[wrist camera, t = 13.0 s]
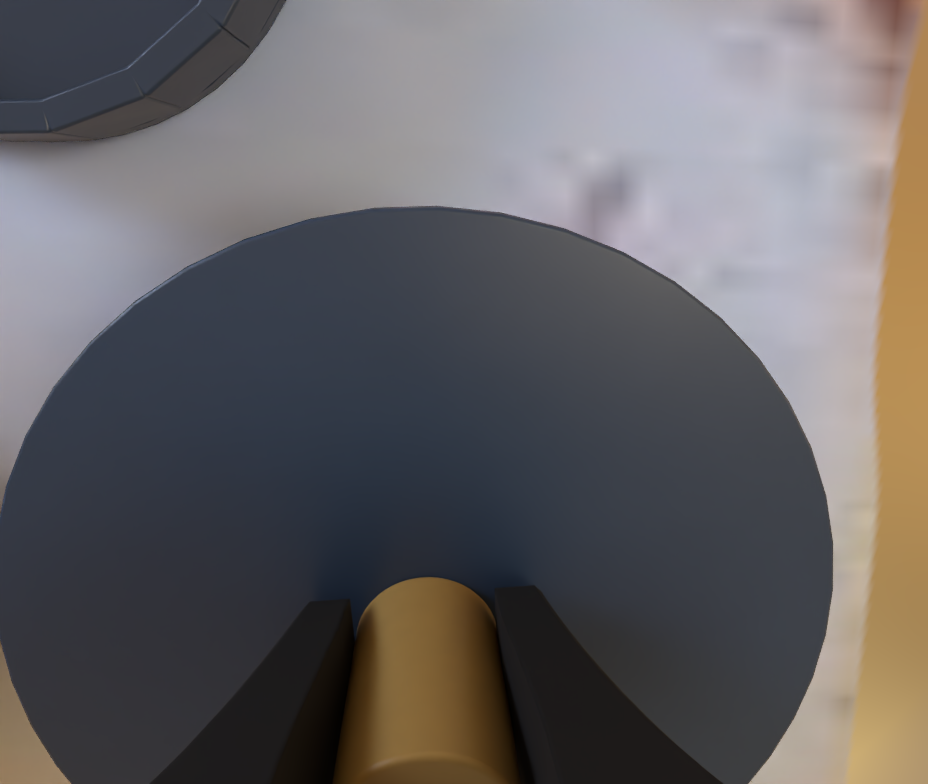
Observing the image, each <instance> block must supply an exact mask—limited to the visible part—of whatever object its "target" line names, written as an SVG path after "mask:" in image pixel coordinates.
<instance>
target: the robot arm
mask: <svg viewBox="0 0 928 784" xmlns="http://www.w3.org/2000/svg"><path fill="white" fill-rule="evenodd" d="M495 612H496V632H497V638H498V645H499V651H500V658H501V664H502V671H503V677H504V682H505V687H506V692H507V697H508V703H509V710H510V716H511V722H512V729H513V735H514V742H515V748H516V755H517V761H518V768H519V774H520V781H521V784H723V783H722V782H721V781H720V780H718V779H717V778H716V777H715V776H713V775H712V774H711V773H710V772H708V771H707V770H706V769H705V768H704V767H702V766H701V765H700V764H699V763H698V762H697V761H695V760H694V759H693V758H692V757H691V756H690V755H688V754H687V753H686V752H685V751H684V750H683V749H681V748H680V747H679V746H678V745H677V744H676V743H675V742H674V741H672V740H671V739H670V738H669V737H668V736H667V735H666V734H665V733H664V732H663V731H662V730H661V729H660V728H658V727H657V726H656V725H655V724H654V723H653V722H652V721H651V720H650V719H649V718H648V717H647V716H646V715H645V714H644V713H643V712H642V711H641V710H640V709H639V708H638V707H637V706H636V705H635V704H634V703H633V702H632V701H631V700H630V699H629V698H628V697H627V696H626V695H625V694H624V693H623V692H622V691H621V689H620V688H619V687H618V686H617V685H616V684H615V683H614V682H613V681H612V680H611V679H610V678H609V677H608V675H607V674H606V673H605V672H604V671H603V670H602V669H601V667H600V666H599V665H598V664H597V663H596V662H595V661H594V659H593V658H592V657H591V656H590V655H589V654H588V653H587V651H586V650H585V649H584V648H583V647H582V645H581V644H580V643H579V642H578V641H577V639H576V638H575V637H574V636H573V634H572V633H571V632H570V630H569V629H568V628H567V627H566V625H565V624H564V623H563V621H562V620H561V619H560V617H559V616H558V615H557V613H556V612H555V611H554V609H553V608H552V606H551V605H550V604H549V602H548V601H547V599H546V598H545V596H544V595H543V593H542V592H541V591H540V590H539V589H538V588H537V587H536V586H535V585H530V586H516V587H503V588H495ZM354 646H355V637H354V629H353V620H352V612H351V603H350V599H338V600H324V601H310V602H309V603H308V604H307V605H306V606H305V607H304V608H303V609H302V611H301V612H300V613H299V614H298V616H297V617H296V618H295V620H294V621H293V622H292V624H291V625H290V626H289V627H288V629H287V630H286V631H285V633H284V634H283V635H282V636H281V638H280V639H279V640H278V642H277V643H276V644H275V645H274V647H273V648H272V649H271V650H270V652H269V653H268V654H267V655H266V657H265V658H264V659H263V660H262V662H261V663H260V664H259V665H258V667H257V668H256V669H255V670H254V671H253V673H252V674H251V675H250V676H249V677H248V678H247V680H246V681H245V682H244V683H243V684H242V686H241V687H240V688H239V689H238V690H237V692H236V693H235V694H234V695H233V696H232V698H231V699H230V700H229V701H228V702H227V703H226V704H225V706H224V707H223V708H222V709H221V710H220V711H219V712H218V713H217V714H216V715H215V716H214V718H213V719H212V720H211V721H210V722H209V723H208V724H207V725H206V726H205V727H204V728H203V729H202V730H201V732H200V733H199V734H198V735H197V736H196V737H195V738H194V739H193V740H192V741H191V742H190V743H189V745H188V746H187V747H186V748H185V749H184V750H183V751H182V752H181V753H180V754H179V755H178V756H177V757H176V758H175V759H174V760H173V761H172V762H171V763H170V764H169V765H168V766H167V767H166V768H165V769H164V770H163V771H162V772H161V773H160V774H159V775H158V776H157V777H156V778H155V779H154V780H153V781H152V782H151V783H149V784H332V782H333V776H334V770H335V763H336V757H337V751H338V745H339V739H340V732H341V726H342V720H343V714H344V708H345V701H346V695H347V689H348V683H349V677H350V671H351V664H352V658H353V652H354Z"/></svg>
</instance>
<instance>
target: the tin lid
mask: <svg viewBox="0 0 928 784" xmlns="http://www.w3.org/2000/svg"><path fill="white" fill-rule="evenodd" d="M530 585H535V586H536V587H537V588H538V589H539V590H540V591H541V592H542V593H543V595H544V596H545V598H546V599H547V601H548V602H549V604H550V605H551V606H552V608H553V609H554V611H555V612H556V613H557V615H558V616H559V617H560V619H561V620H562V621H563V623H564V624H565V625H566V627H567V628H568V629H569V630H570V632H571V633H572V634H573V636H574V637H575V638H576V639H577V641H578V642H579V643H580V644H581V645H582V647H583V648H584V649H585V650H586V651H587V653H588V654H589V655H590V656H591V657H592V658H593V659H594V661H595V662H596V663H597V664H598V665H599V666H600V667H601V669H602V670H603V671H604V672H605V673H606V674H607V675H608V677H609V678H610V679H611V680H612V681H613V682H614V683H615V684H616V685H617V686H618V687H619V688H620V689H621V691H622V692H623V693H624V694H625V695H626V696H627V697H628V698H629V699H630V700H631V701H632V702H633V703H634V704H635V705H636V706H637V707H638V708H639V709H640V710H641V711H642V712H643V713H644V714H645V715H646V716H647V717H648V718H649V719H650V720H651V721H652V722H653V723H654V724H655V725H656V726H657V727H658V728H660V729H661V730H662V731H663V732H664V733H665V734H666V735H667V736H668V737H669V738H670V739H671V740H672V741H674V742H675V743H676V744H677V745H678V746H679V747H680V748H681V749H683V750H684V751H685V752H686V753H687V754H688V755H690V756H691V757H692V758H693V759H694V760H695V761H697V762H698V763H699V764H700V765H701V766H702V767H704V768H705V769H706V770H707V771H708V772H710V773H711V774H712V775H713V776H715V777H716V778H717V779H718V780H720V781H721V782H722V783H723V784H748V783H749V782H750V781H751V780H752V778H753V777H754V776H755V775H756V773H757V772H758V771H759V770H760V769H761V767H762V766H763V765H764V764H765V762H766V761H767V760H768V759H769V757H770V756H771V755H772V753H773V751H774V750H775V748H776V747H777V745H778V743H779V742H780V740H781V739H782V737H783V735H784V734H785V732H786V731H787V729H788V727H789V726H790V724H791V723H792V721H793V719H794V717H795V715H796V713H797V711H798V709H799V706H800V704H801V702H802V700H803V698H804V696H805V693H806V691H807V689H808V687H809V685H810V683H811V680H812V678H813V675H814V672H815V668H816V665H817V662H818V659H819V655H820V652H821V649H822V645H823V642H824V639H825V635H826V630H827V623H828V617H829V610H830V604H831V597H832V591H833V540H832V533H831V526H830V519H829V512H828V505H827V499H826V494H825V491H824V487H823V484H822V481H821V478H820V474H819V471H818V468H817V465H816V461H815V458H814V455H813V451H812V448H811V446H810V444H809V442H808V440H807V438H806V436H805V434H804V431H803V429H802V427H801V425H800V423H799V421H798V419H797V417H796V415H795V413H794V411H793V409H792V407H791V405H790V403H789V401H788V399H787V398H786V397H785V395H784V394H783V392H782V391H781V389H780V388H779V386H778V385H777V384H776V382H775V381H774V379H773V378H772V376H771V375H770V373H769V372H768V371H767V369H766V368H765V366H764V365H763V363H762V362H761V360H760V359H759V358H758V357H757V356H756V354H755V353H754V352H753V351H752V350H751V349H750V348H749V347H748V346H747V345H746V344H745V343H744V342H743V341H742V340H741V339H740V338H739V336H738V335H737V334H736V333H735V332H734V331H733V330H732V329H731V328H730V327H729V326H728V325H727V324H726V323H725V322H724V321H723V320H722V319H721V317H719V316H718V315H717V314H715V313H714V312H713V311H712V310H710V309H709V308H708V307H707V306H705V305H704V304H703V303H701V302H700V301H699V300H698V299H696V298H695V297H694V296H692V295H691V294H690V293H689V292H687V291H686V290H685V289H684V288H682V287H681V286H680V285H678V284H677V283H676V282H674V281H673V280H671V279H669V278H668V277H666V276H664V275H662V274H661V273H659V272H657V271H655V270H654V269H652V268H650V267H648V266H647V265H645V264H643V263H641V262H640V261H638V260H636V259H634V258H633V257H631V256H629V255H627V254H626V253H624V252H622V251H619V250H617V249H614V248H612V247H609V246H607V245H604V244H602V243H599V242H597V241H594V240H592V239H589V238H587V237H584V236H582V235H579V234H577V233H574V232H572V231H569V230H567V229H564V228H561V227H557V226H553V225H549V224H545V223H541V222H537V221H533V220H529V219H525V218H520V217H516V216H512V215H508V214H504V213H500V212H491V211H481V210H472V209H462V208H453V207H443V206H418V207H385V208H370V209H364V210H359V211H353V212H347V213H341V214H335V215H329V216H323V217H317V218H311V219H308V220H305V221H301V222H298V223H295V224H292V225H289V226H285V227H282V228H279V229H276V230H273V231H269V232H266V233H263V234H260V235H257V236H254V237H250V238H247V239H244V240H242V241H240V242H238V243H236V244H234V245H232V246H230V247H227V248H225V249H223V250H221V251H219V252H217V253H215V254H213V255H211V256H208V257H206V258H204V259H202V260H200V261H198V262H196V263H194V264H192V265H190V266H187V267H186V268H184V269H183V270H181V271H180V272H178V273H177V274H175V275H174V276H172V277H171V278H169V279H168V280H166V281H165V282H163V283H162V284H160V285H159V286H157V287H156V288H154V289H153V290H151V291H150V292H148V293H147V294H145V295H144V296H142V297H141V298H139V299H138V300H136V301H135V302H134V303H133V304H132V305H130V306H129V307H128V308H127V309H126V310H125V311H124V312H123V313H122V314H120V315H119V316H118V317H117V318H116V319H115V320H114V321H113V322H112V323H110V324H109V325H108V326H107V327H106V328H105V329H104V330H103V331H102V332H101V333H99V334H98V335H97V336H96V337H95V338H94V339H93V340H92V341H91V342H90V343H89V344H88V345H87V346H86V348H85V349H84V350H83V351H82V353H81V354H80V355H79V356H78V358H77V359H76V360H75V361H74V362H73V364H72V365H71V366H70V367H69V369H68V370H67V371H66V372H65V373H64V375H63V376H62V377H61V378H60V380H59V381H58V382H57V383H56V385H55V386H54V387H53V389H52V391H51V392H50V394H49V396H48V398H47V399H46V401H45V403H44V404H43V406H42V408H41V410H40V411H39V413H38V415H37V416H36V418H35V420H34V422H33V423H32V425H31V427H30V428H29V430H28V432H27V434H26V436H25V438H24V441H23V444H22V446H21V449H20V451H19V454H18V457H17V459H16V462H15V464H14V467H13V470H12V472H11V475H10V477H9V480H8V483H7V485H6V490H5V494H4V499H3V504H2V509H1V514H0V641H1V645H2V648H3V652H4V655H5V659H6V663H7V666H8V670H9V674H10V677H11V681H12V683H13V686H14V688H15V690H16V692H17V695H18V697H19V699H20V701H21V704H22V706H23V708H24V711H25V713H26V715H27V717H28V720H29V722H30V724H31V726H32V728H33V729H34V731H35V732H36V734H37V736H38V737H39V739H40V740H41V742H42V744H43V745H44V747H45V748H46V750H47V752H48V753H49V755H50V756H51V758H52V760H53V761H54V763H55V764H56V766H57V767H58V768H59V769H60V771H61V772H62V773H63V774H64V775H65V777H66V778H67V779H68V780H69V781H70V783H71V784H149V783H151V782H152V781H153V780H154V779H155V778H156V777H157V776H158V775H159V774H160V773H161V772H162V771H163V770H164V769H165V768H166V767H167V766H168V765H169V764H170V763H171V762H172V761H173V760H174V759H175V758H176V757H177V756H178V755H179V754H180V753H181V752H182V751H183V750H184V749H185V748H186V747H187V746H188V745H189V743H190V742H191V741H192V740H193V739H194V738H195V737H196V736H197V735H198V734H199V733H200V732H201V730H202V729H203V728H204V727H205V726H206V725H207V724H208V723H209V722H210V721H211V720H212V719H213V718H214V716H215V715H216V714H217V713H218V712H219V711H220V710H221V709H222V708H223V707H224V706H225V704H226V703H227V702H228V701H229V700H230V699H231V698H232V696H233V695H234V694H235V693H236V692H237V690H238V689H239V688H240V687H241V686H242V684H243V683H244V682H245V681H246V680H247V678H248V677H249V676H250V675H251V674H252V673H253V671H254V670H255V669H256V668H257V667H258V665H259V664H260V663H261V662H262V660H263V659H264V658H265V657H266V655H267V654H268V653H269V652H270V650H271V649H272V648H273V647H274V645H275V644H276V643H277V642H278V640H279V639H280V638H281V636H282V635H283V634H284V633H285V631H286V630H287V629H288V627H289V626H290V625H291V624H292V622H293V621H294V620H295V618H296V617H297V616H298V614H299V613H300V612H301V611H302V609H303V608H304V607H305V606H306V605H307V604H308V603H309V602H310V601H324V600H338V599H350V603H351V612H352V620H353V629H354V637H355V646H354V652H353V658H352V664H351V671H350V677H349V683H348V689H347V695H346V701H345V708H344V714H343V720H342V726H341V732H340V739H339V745H338V751H337V757H336V763H335V770H334V776H333V782H332V784H521V781H520V774H519V768H518V761H517V755H516V748H515V742H514V735H513V729H512V722H511V716H510V710H509V703H508V697H507V692H506V687H505V682H504V677H503V671H502V664H501V658H500V651H499V645H498V638H497V632H496V612H495V588H503V587H516V586H530Z"/></svg>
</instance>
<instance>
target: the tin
mask: <svg viewBox="0 0 928 784" xmlns="http://www.w3.org/2000/svg"><path fill="white" fill-rule="evenodd" d="M285 2H286V0H0V140H3V141H47V142H66V141H90V140H97V139H103V138H107V137H113V136H119V135H124V134H127V133H130V132H133V131H136V130H139V129H143V128H146V127H149V126H152V125H155V124H158V123H160V122H162V121H164V120H166V119H168V118H170V117H172V116H174V115H176V114H178V113H180V112H182V111H184V110H186V109H188V108H189V107H191V106H192V105H194V104H195V103H196V102H198V101H199V100H201V99H202V98H203V97H205V96H206V95H208V94H209V93H211V92H212V91H213V90H215V89H216V88H218V87H219V86H220V85H221V84H222V83H223V82H224V81H225V80H226V79H227V78H228V77H229V76H230V75H231V74H232V73H233V72H235V71H236V70H237V69H238V68H239V67H240V66H241V65H242V64H243V63H244V62H245V61H246V59H247V58H248V57H249V56H250V54H251V53H252V52H253V50H254V49H255V48H256V47H257V45H258V44H259V43H260V41H261V40H262V39H263V38H264V36H265V35H266V34H267V33H268V31H269V29H270V27H271V26H272V24H273V22H274V20H275V19H276V17H277V15H278V14H279V12H280V10H281V8H282V7H283V5H284V3H285Z"/></svg>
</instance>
